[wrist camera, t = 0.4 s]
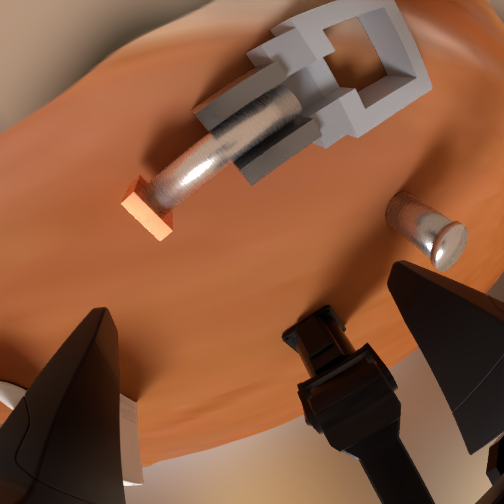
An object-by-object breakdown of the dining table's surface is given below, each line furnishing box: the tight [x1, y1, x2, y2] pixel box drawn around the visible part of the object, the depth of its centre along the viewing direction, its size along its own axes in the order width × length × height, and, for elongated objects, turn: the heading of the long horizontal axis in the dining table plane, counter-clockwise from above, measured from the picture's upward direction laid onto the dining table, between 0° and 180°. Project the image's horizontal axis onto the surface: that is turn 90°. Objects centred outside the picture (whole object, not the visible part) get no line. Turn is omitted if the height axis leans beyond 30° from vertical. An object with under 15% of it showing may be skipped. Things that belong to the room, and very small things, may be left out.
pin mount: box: [191, 61, 323, 186], centre depth 15 cm, size 5×5×4 cm
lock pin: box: [121, 85, 302, 241], centre depth 15 cm, size 3×11×3 cm, turn 124°
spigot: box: [385, 192, 468, 272], centre depth 22 cm, size 5×5×8 cm
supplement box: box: [120, 393, 144, 486], centre depth 24 cm, size 7×7×13 cm
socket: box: [245, 0, 433, 149], centre depth 15 cm, size 9×12×4 cm
